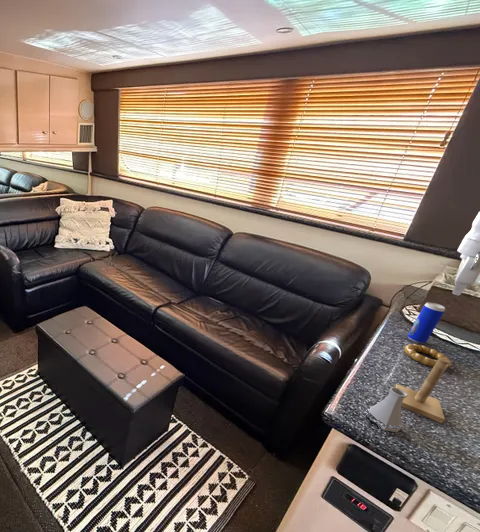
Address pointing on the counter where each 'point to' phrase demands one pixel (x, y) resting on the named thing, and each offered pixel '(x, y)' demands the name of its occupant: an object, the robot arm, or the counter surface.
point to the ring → (419, 348)
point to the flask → (389, 409)
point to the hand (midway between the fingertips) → (456, 290)
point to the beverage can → (426, 322)
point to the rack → (426, 394)
